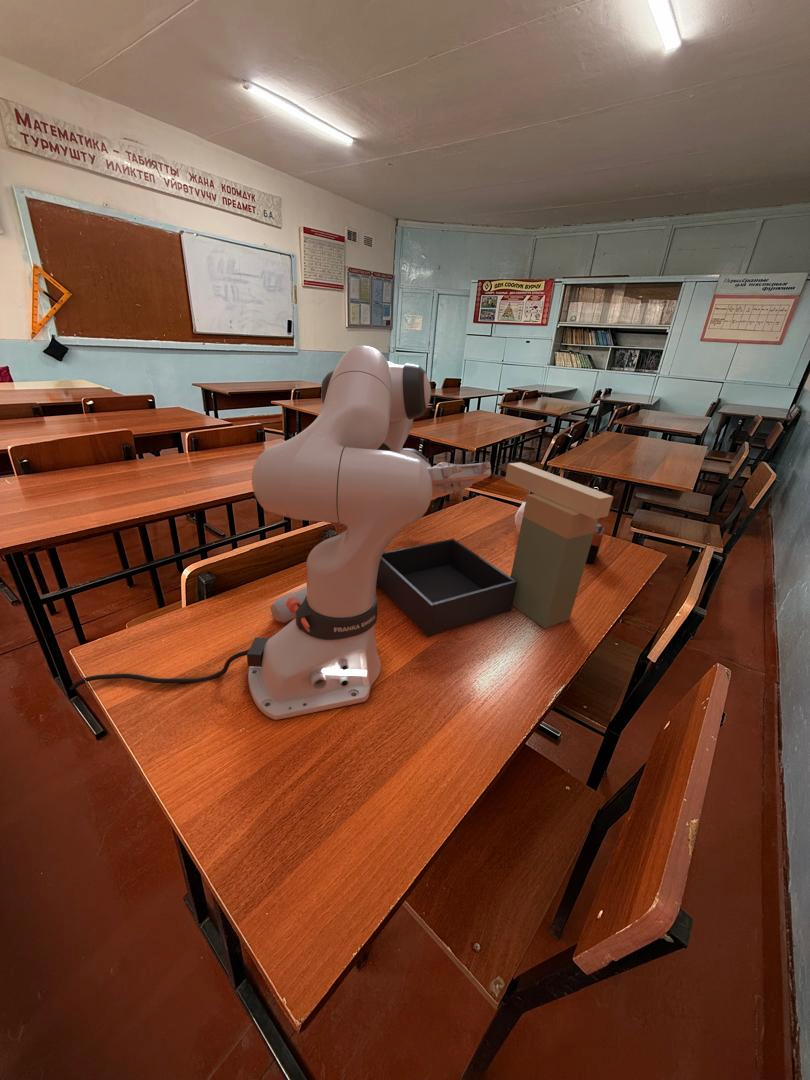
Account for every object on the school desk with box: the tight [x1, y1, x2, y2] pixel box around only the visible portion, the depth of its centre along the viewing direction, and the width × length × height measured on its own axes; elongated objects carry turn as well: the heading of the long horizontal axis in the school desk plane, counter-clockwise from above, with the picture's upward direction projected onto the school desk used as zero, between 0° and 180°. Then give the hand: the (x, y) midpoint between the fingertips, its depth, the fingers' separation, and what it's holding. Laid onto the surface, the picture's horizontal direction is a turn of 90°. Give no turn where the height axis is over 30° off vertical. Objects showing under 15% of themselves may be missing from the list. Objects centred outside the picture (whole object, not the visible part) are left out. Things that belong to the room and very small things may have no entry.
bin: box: [376, 538, 517, 638], centre depth 100 cm, size 23×24×8 cm
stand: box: [510, 493, 599, 630], centre depth 93 cm, size 8×12×26 cm, turn 31°
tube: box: [270, 587, 307, 624], centre depth 94 cm, size 5×5×25 cm
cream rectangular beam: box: [504, 461, 614, 519], centre depth 89 cm, size 4×24×4 cm, turn 31°
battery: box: [586, 523, 605, 565], centre depth 123 cm, size 4×7×10 cm, turn 150°
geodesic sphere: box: [514, 501, 526, 534], centre depth 130 cm, size 15×14×14 cm
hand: (474, 466), depth 110 cm, fingers open, 8 cm apart
